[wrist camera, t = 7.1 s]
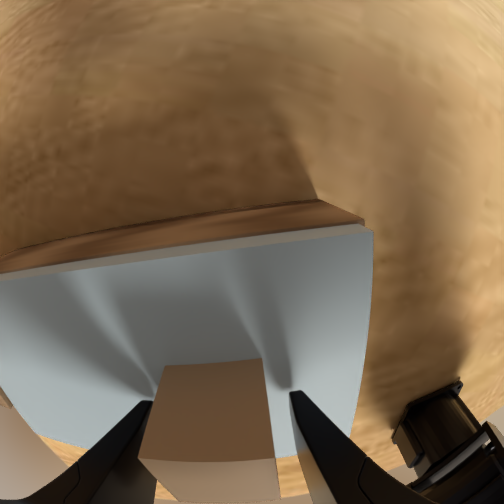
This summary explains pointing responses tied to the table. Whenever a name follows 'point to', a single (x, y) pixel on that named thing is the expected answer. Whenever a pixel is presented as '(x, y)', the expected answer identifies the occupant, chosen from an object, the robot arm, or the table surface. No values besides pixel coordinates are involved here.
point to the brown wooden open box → (178, 235)
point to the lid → (194, 351)
